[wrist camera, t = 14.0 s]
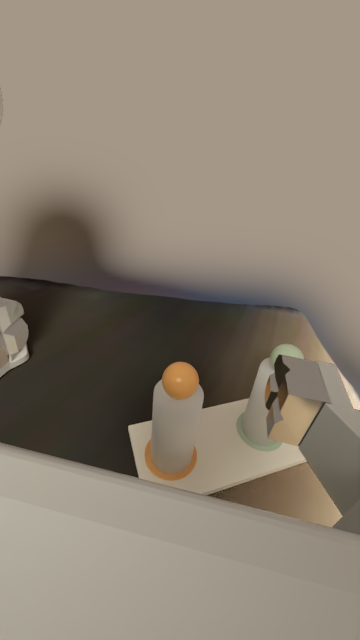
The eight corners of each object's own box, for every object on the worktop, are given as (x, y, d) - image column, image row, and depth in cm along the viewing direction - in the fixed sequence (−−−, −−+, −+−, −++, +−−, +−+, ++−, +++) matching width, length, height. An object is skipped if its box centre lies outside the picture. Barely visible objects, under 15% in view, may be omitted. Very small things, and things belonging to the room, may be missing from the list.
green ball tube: (234, 417, 37) (258, 336, 30) (265, 410, 39) (295, 331, 32) (253, 450, 34) (286, 366, 26) (286, 440, 35) (326, 358, 28)
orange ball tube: (146, 440, 33) (149, 353, 26) (184, 430, 35) (197, 346, 28) (156, 479, 30) (163, 391, 22) (198, 467, 31) (217, 381, 24)
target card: (128, 429, 35) (128, 424, 35) (262, 398, 42) (264, 394, 41) (146, 515, 28) (147, 510, 27) (308, 460, 34) (311, 456, 34)
